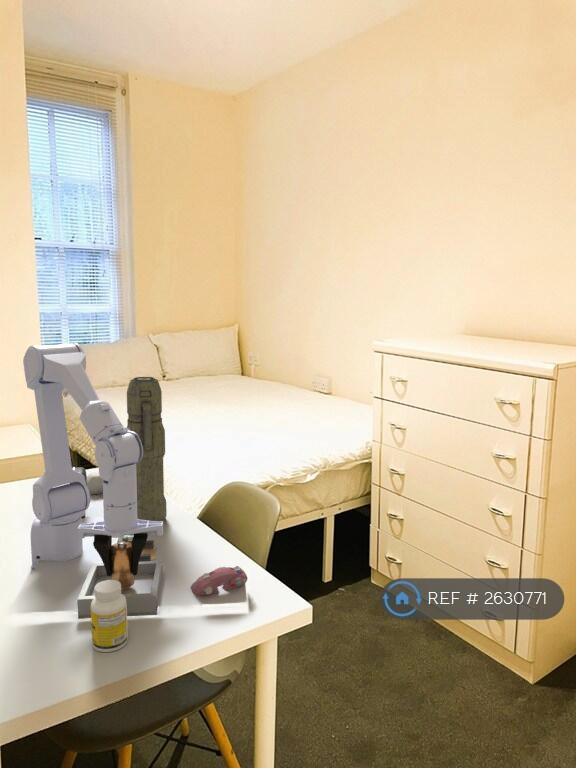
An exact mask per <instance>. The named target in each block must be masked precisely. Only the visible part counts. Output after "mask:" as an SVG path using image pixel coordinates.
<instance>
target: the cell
mask: <svg viewBox="0 0 576 768" xmlns="http://www.w3.org/2000/svg"><path fill="white" fill-rule="evenodd" d="M132 569H133V552H132V543H129V542H119V543H117V542H116V543H114V544H112V546H111V576H110V580H116V581H119V582H120V583H121V590H123V589H128V588H131V587H132V586H134V584H135V575H133V572H132Z"/></svg>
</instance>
